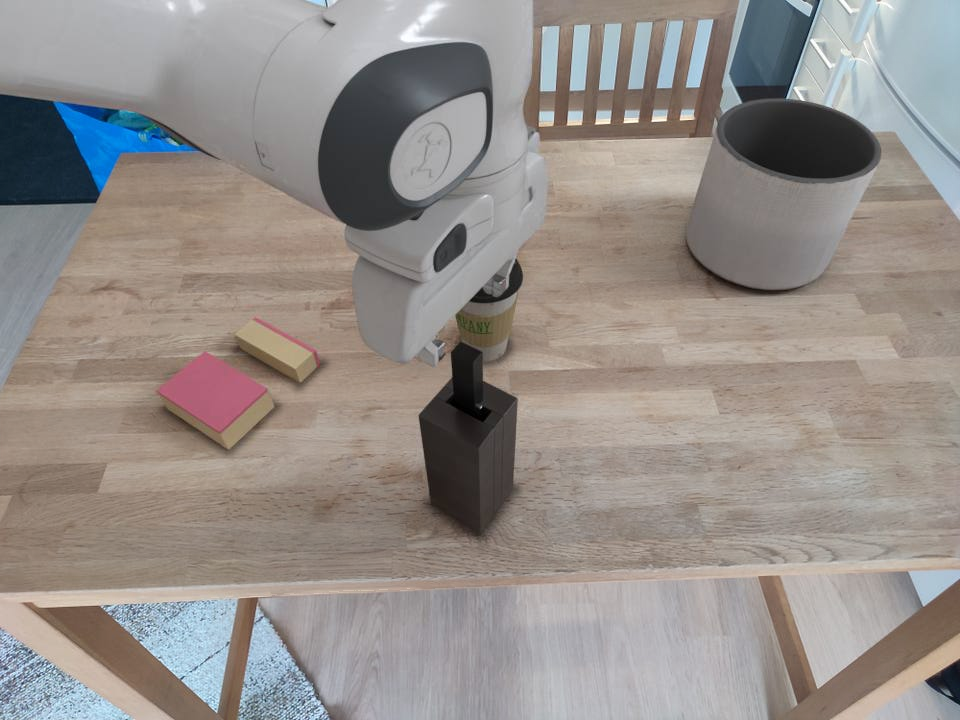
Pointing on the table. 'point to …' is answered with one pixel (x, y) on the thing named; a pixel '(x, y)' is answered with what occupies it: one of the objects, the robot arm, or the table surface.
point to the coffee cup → (490, 318)
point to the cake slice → (277, 349)
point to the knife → (468, 379)
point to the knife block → (469, 455)
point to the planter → (779, 191)
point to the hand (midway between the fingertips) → (465, 323)
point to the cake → (216, 399)
